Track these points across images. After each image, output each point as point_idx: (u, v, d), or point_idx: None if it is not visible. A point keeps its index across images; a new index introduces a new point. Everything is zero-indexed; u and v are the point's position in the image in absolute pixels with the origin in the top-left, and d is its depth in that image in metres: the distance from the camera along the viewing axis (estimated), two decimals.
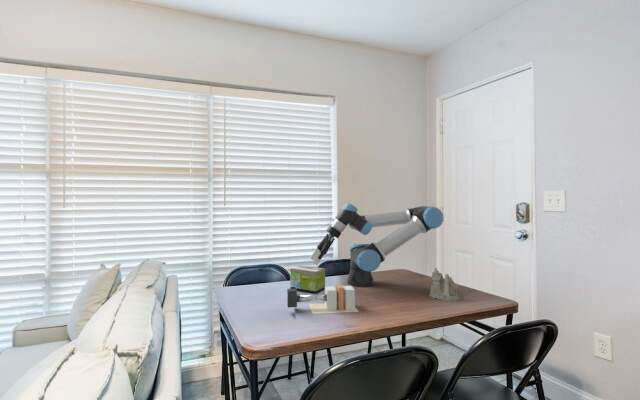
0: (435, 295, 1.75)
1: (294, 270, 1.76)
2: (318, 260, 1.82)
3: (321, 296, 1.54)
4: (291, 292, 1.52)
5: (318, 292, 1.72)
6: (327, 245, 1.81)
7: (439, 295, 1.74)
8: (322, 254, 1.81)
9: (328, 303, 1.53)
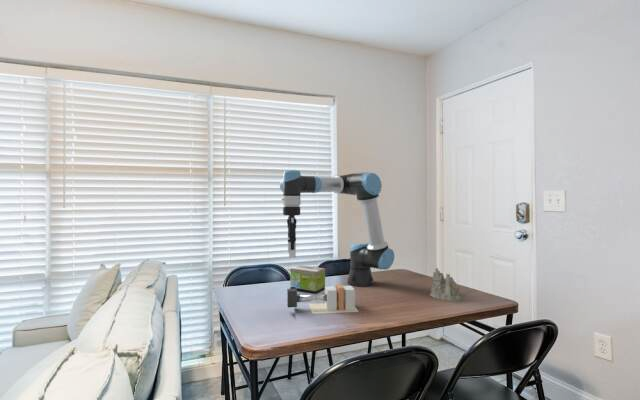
0: (436, 295, 1.75)
1: (294, 270, 1.76)
2: (293, 251, 1.47)
3: (321, 296, 1.54)
4: (291, 292, 1.52)
5: (318, 292, 1.72)
6: (291, 230, 1.46)
7: (440, 295, 1.74)
8: (293, 243, 1.46)
9: (328, 303, 1.53)
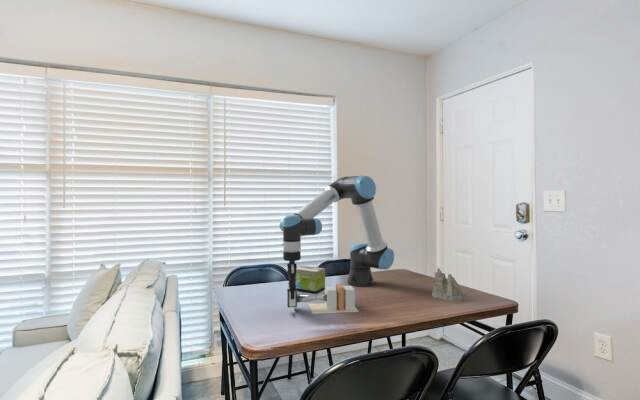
0: (438, 295, 1.75)
1: None
2: (293, 300, 1.51)
3: (321, 296, 1.54)
4: None
5: (318, 292, 1.72)
6: (291, 281, 1.48)
7: (442, 295, 1.74)
8: (292, 292, 1.50)
9: (328, 303, 1.53)
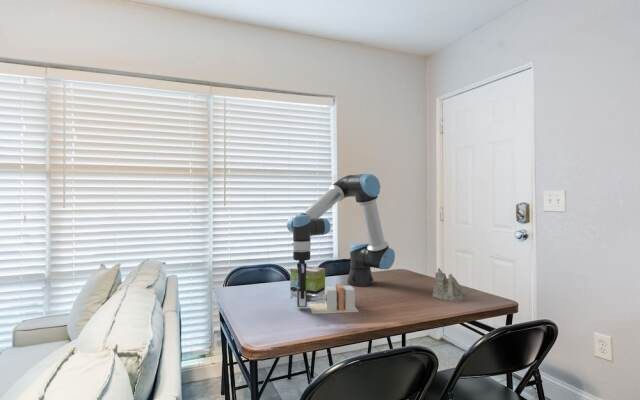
0: (439, 295, 1.75)
1: (294, 270, 1.76)
2: (303, 300, 1.52)
3: None
4: None
5: (318, 292, 1.72)
6: (302, 280, 1.49)
7: (443, 295, 1.74)
8: (303, 292, 1.51)
9: (328, 303, 1.53)
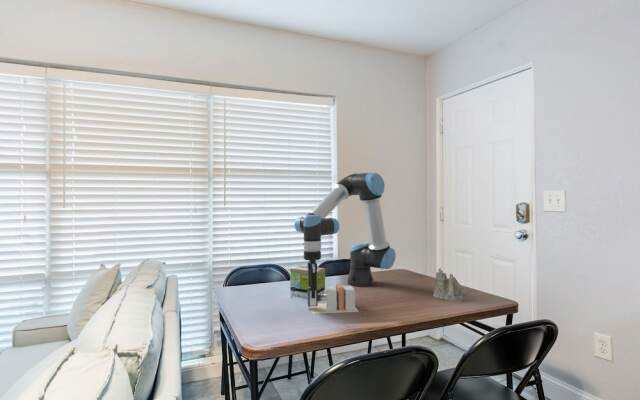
0: (439, 295, 1.75)
1: (294, 270, 1.76)
2: (314, 299, 1.52)
3: None
4: None
5: (318, 292, 1.72)
6: (313, 280, 1.49)
7: (443, 295, 1.74)
8: (313, 291, 1.51)
9: (328, 303, 1.53)
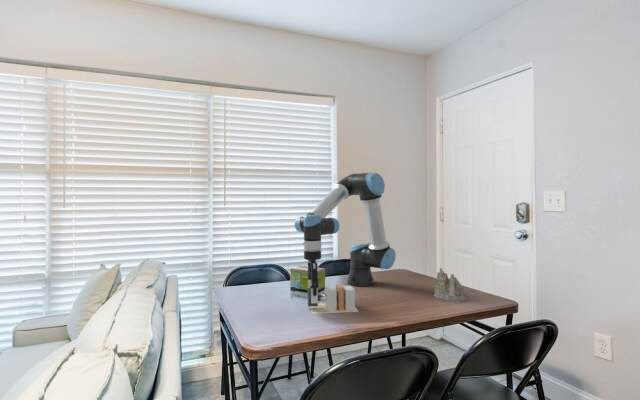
0: (440, 295, 1.75)
1: (294, 270, 1.76)
2: (315, 297, 1.48)
3: None
4: None
5: (318, 292, 1.72)
6: (314, 276, 1.47)
7: (444, 295, 1.73)
8: (315, 289, 1.47)
9: (328, 303, 1.53)
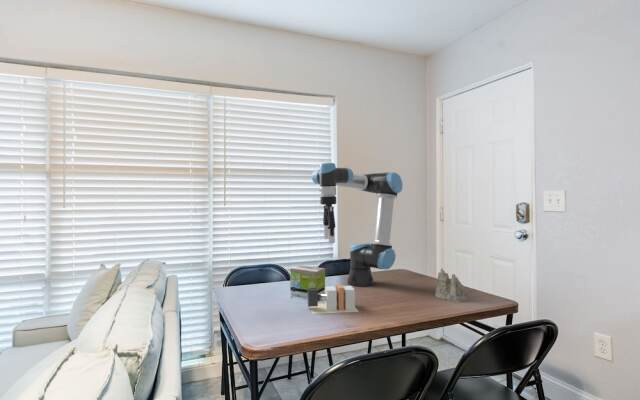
0: (441, 295, 1.75)
1: (294, 270, 1.76)
2: (332, 237, 1.61)
3: None
4: (312, 291, 1.53)
5: (318, 292, 1.72)
6: (331, 218, 1.59)
7: (446, 295, 1.73)
8: (332, 229, 1.59)
9: (328, 303, 1.53)
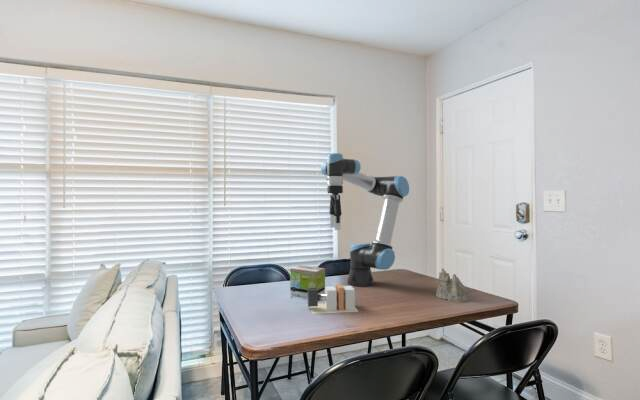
0: (442, 295, 1.75)
1: (294, 270, 1.76)
2: (338, 224, 1.66)
3: None
4: (312, 291, 1.53)
5: (318, 292, 1.72)
6: (337, 205, 1.65)
7: (447, 295, 1.73)
8: (338, 216, 1.65)
9: (328, 303, 1.53)
